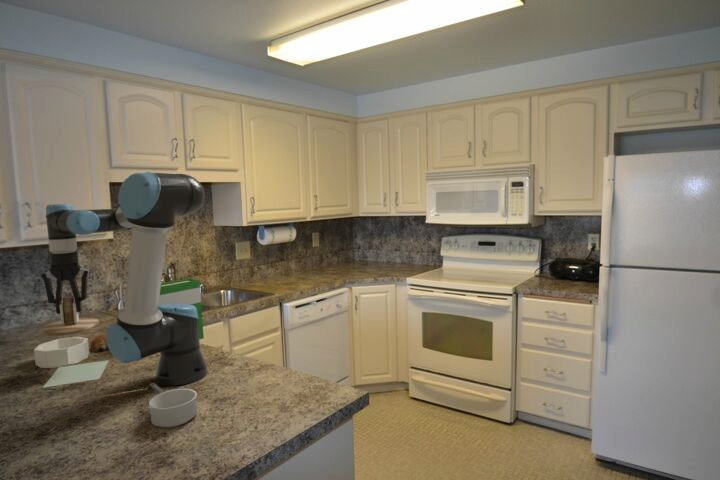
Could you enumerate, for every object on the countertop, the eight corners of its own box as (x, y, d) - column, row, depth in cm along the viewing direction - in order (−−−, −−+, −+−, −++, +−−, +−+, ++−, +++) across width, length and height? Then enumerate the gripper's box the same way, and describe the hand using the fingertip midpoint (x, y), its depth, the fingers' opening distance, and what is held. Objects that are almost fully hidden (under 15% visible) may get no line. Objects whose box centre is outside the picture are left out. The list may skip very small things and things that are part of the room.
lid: (93, 331, 142) (91, 300, 141) (34, 338, 136) (30, 306, 135) (102, 318, 157) (100, 291, 156) (48, 324, 151) (46, 295, 150)
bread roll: (124, 355, 174) (127, 334, 177) (107, 352, 164) (111, 330, 167) (100, 355, 175) (104, 334, 178) (82, 352, 165) (87, 331, 168)
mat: (99, 380, 140) (99, 378, 140) (42, 389, 134) (42, 387, 134) (109, 361, 157) (108, 360, 156) (59, 368, 151) (59, 367, 151)
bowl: (83, 365, 154) (81, 346, 154) (31, 372, 149) (29, 353, 148) (92, 351, 168) (90, 335, 168) (45, 358, 163) (43, 340, 162)
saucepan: (173, 395, 127) (172, 376, 127) (206, 418, 113) (204, 397, 113) (131, 410, 119) (129, 390, 119) (160, 436, 105) (158, 413, 104)
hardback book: (161, 350, 167) (156, 287, 164) (151, 347, 171) (146, 285, 169) (203, 338, 180) (199, 279, 178) (193, 335, 185) (189, 278, 183)
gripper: (94, 248, 150) (100, 316, 152) (37, 252, 144) (44, 322, 147) (89, 251, 143) (95, 322, 146) (30, 254, 137) (37, 328, 140)
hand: (70, 322), depth 146 cm, fingers closed on lid, 3 cm apart
